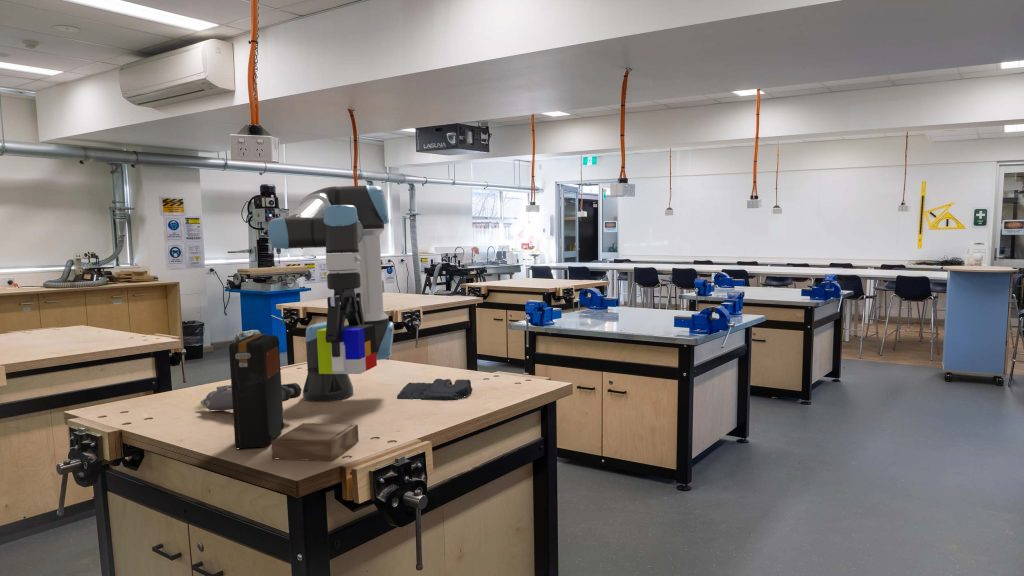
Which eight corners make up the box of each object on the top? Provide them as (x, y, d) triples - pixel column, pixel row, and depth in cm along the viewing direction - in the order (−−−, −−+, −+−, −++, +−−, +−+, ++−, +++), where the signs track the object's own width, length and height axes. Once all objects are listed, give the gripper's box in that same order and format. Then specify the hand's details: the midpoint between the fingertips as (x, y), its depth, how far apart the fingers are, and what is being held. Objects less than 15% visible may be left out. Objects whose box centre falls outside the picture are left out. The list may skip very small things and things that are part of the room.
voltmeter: (252, 431, 162) (246, 334, 160) (287, 429, 162) (281, 332, 161) (230, 451, 146) (223, 343, 144) (269, 449, 147) (262, 341, 145)
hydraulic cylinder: (288, 416, 167) (282, 378, 167) (196, 425, 183) (190, 391, 183) (308, 409, 173) (302, 373, 173) (218, 418, 190) (212, 385, 190)
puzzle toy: (360, 374, 144) (358, 330, 143) (318, 373, 145) (316, 330, 145) (376, 365, 153) (374, 324, 153) (338, 365, 155) (335, 325, 154)
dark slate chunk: (411, 389, 206) (411, 374, 206) (476, 390, 201) (476, 375, 201) (392, 400, 191) (391, 385, 191) (462, 402, 186) (461, 386, 186)
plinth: (304, 439, 153) (303, 422, 153) (358, 440, 151) (357, 423, 150) (272, 459, 139) (271, 440, 139) (331, 460, 137) (330, 441, 137)
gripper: (338, 273, 136) (343, 376, 137) (376, 269, 158) (380, 357, 160) (305, 274, 137) (311, 376, 139) (347, 270, 160) (352, 357, 161)
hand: (348, 366), depth 149 cm, fingers closed on puzzle toy, 10 cm apart
